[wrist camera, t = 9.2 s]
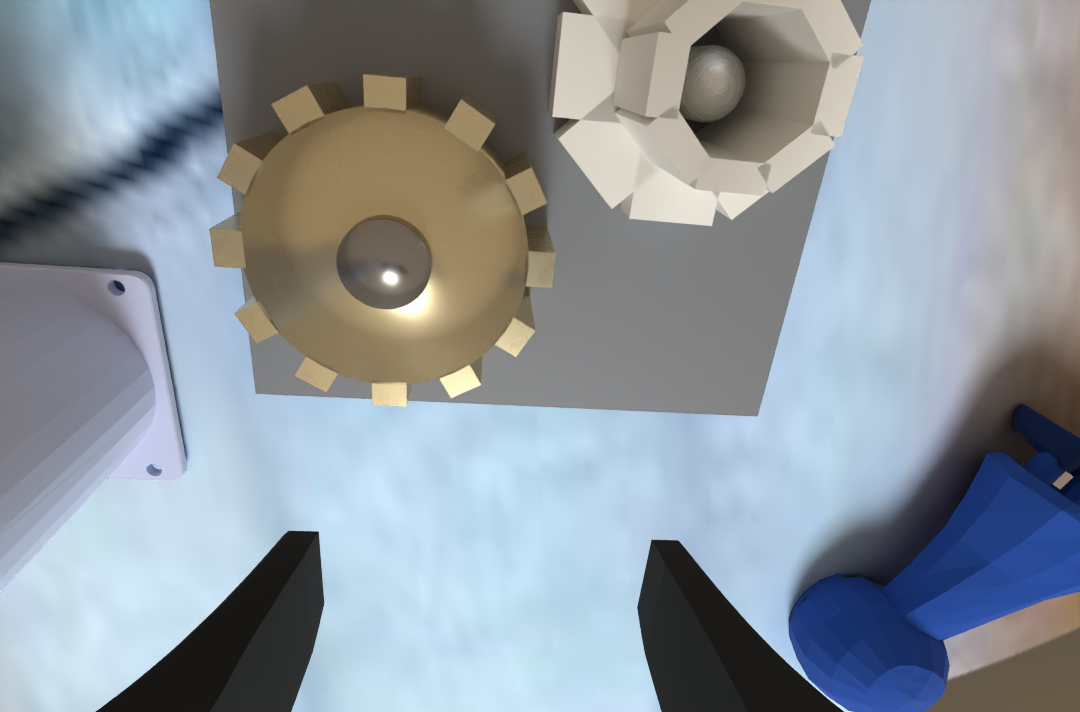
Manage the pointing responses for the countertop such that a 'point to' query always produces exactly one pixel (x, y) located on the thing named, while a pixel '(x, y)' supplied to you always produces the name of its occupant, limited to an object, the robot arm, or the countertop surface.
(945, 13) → the countertop surface
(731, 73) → the carrier pin
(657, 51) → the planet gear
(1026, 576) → the toy
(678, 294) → the carrier plate
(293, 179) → the sun gear
